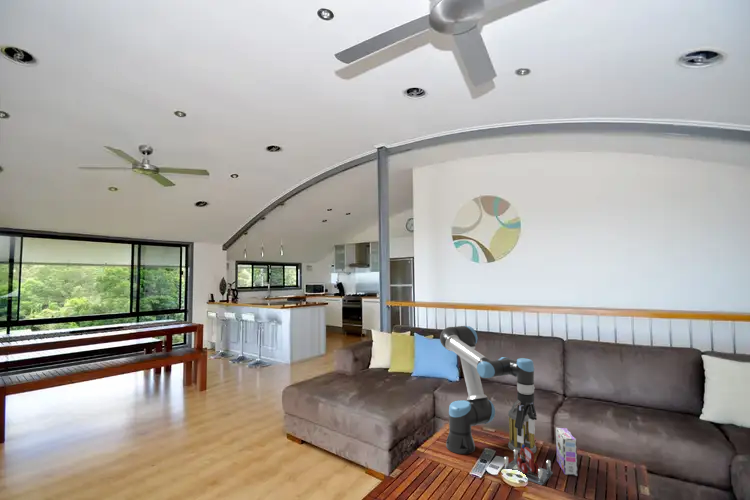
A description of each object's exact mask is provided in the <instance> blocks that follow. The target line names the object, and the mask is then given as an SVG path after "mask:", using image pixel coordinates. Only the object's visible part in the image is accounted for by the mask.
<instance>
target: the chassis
mask: <svg viewBox="0 0 750 500" xmlns="http://www.w3.org/2000/svg"><path fill="white" fill-rule="evenodd" d="M517 458H519V453H518V450H517V449H514V451H513V460H511V461H509V456H504V467H503V468H502V470H503V469H512V470H518V471H520V472H522V469H521V468H519V467H518V464H517ZM551 462H552V461H551V460H550V459H546V469H545V468H542V467H540V466H538V467H539V468H538V473H535V472H531V471H529V470H528V473H523V472H522V473H523V474H525V475H526V477H527V478H528V480H527V481H530V482H531V483H535V484H538V485H540V486H543V485H545V484H546V482H547V481H548V480H549V479H550V478H551V477H552V476H553V473H554V472H553V471H552V463H551Z"/></svg>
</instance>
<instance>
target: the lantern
mask: <svg viewBox="0 0 750 500" xmlns="http://www.w3.org/2000/svg"><path fill="white" fill-rule="evenodd" d="M519 404H521V402H520V401H519V400H518V399H517V400H516V401H515V402H514V403H513V404H512V406H511V408H510V409H509V411H508V412H507V415H508V427H509V429H508V430H509V441H507V445H508V446H507V447H508V448H509V450H511V451H512V452H514V449H517V450H518V454H520V450H521V447H522V445H523V444H525V445H526V447H528V448H529V449H530V450H531V451H532V452H533V453H534V454H535V453H536V452H537V446H536V445H535V434H532V433H529V424H528V419H530V418H529V416H528V414H527V415H526V416H525V420H524V424H523V434H524V443H520V442H517V428H515V421H516V415H517V406H518V405H519Z"/></svg>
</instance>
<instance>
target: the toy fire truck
mask: <svg viewBox="0 0 750 500" xmlns="http://www.w3.org/2000/svg"><path fill="white" fill-rule="evenodd" d="M517 464H518V467H519V468H521V469H522V472H523V473H528V470H529V471H531V472H535V473H538V468H539V467H540V466H539V464H538V462H537V463H536V462H535V453H533V452H532V451H531V450H530V449H529V448H528V447H526V445H525V444H523V445H522V447H521V450H520V453H519V457H518V458H517Z"/></svg>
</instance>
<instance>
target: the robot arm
mask: <svg viewBox="0 0 750 500" xmlns="http://www.w3.org/2000/svg"><path fill="white" fill-rule="evenodd" d="M439 341H440V344H441V345H442V347H444V348H445V350H447V351H450V352H453V353H455V354H456V355H457V356H458V357H459V359H460V363H461V367H462V372H463V377H464V381H465V385H466V391H467V395H468V396H467V398H466V400H464V399H463V400H460V399H459V400H455V401H452V402H451V403H450V404H449V406H448V407H449V408H448V421H449V422H448V425H449V426H448V427H449V429H448V430H449V431H448V435H447V438H446V442H445V447H446V449H447V450H448V451H450V452H452V453H454V454H459V455H468V454H471V453H474V452H475V451H476V444H475V440H474V438H473V434H472V427H475V426H479V425H487V424H488V423H491V422H493V420H494V418H495V417H496V409H495V405H494V404H493V402H492V400H490V399H488V396H487V395H486V394H484V388H483V384H482V381H481V380H482V379H481V378H483V379H486V378H487V379H491V378H495V377H504V376H509V375H510V376H512V377H515V378H516V389H517V393H516V394H517V397H516V398H517V400H519V401H520V403H519V404H520V405H519V404H517V405H516V407H517V415H516V421H515V428H517V442H520V443H524V434H523V424H524V425H525V422H524V420H525V416H526V415H527V414H528V416H529V418H530V419H528V424H529V434H530V433H532V434H534V435H535V434H536V430H535V427H536V421H537V419H538V418H537V412H536V407H535V394H534V393H535V389H536V386H535V380H534V379H535V365H534V361H533V360H532V359H531V358H530V359H529V358H524V357H520V358H517V359H516V360H515V359H512V358H509V357H505V356H504V357H503V356H502V357H500V358H498V359H497V360H496V359H495V360H492V359H490V358H488V357H487V356H485V355H483V354H482V353H480V352H479V351H477V350H476V344H477V343H478V333H477V332H476V330H475V329H474V328H473V327H472V326H468V325H461V326H460V325H458V326H447V327H446V328H444V329H443V330H442V331H441V333H440V336H439Z"/></svg>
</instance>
